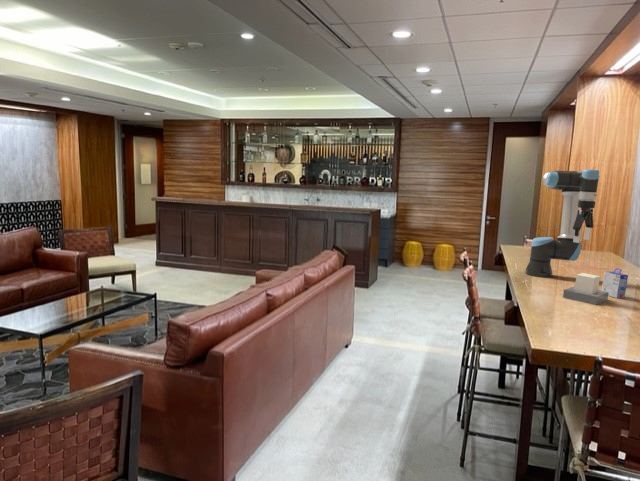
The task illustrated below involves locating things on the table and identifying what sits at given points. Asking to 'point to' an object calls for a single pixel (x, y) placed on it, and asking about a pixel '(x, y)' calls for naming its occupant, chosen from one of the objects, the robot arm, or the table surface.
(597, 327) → the table surface
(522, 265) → the table surface
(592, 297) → the charcoal riser
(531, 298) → the table surface
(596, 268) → the table surface
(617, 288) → the ink cartridge box
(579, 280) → the cream cube
